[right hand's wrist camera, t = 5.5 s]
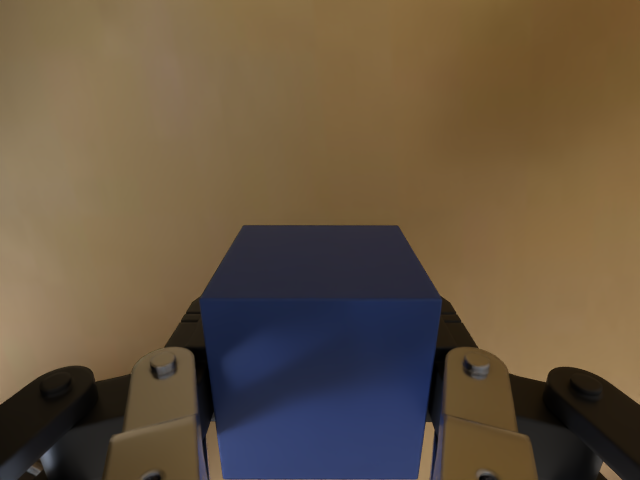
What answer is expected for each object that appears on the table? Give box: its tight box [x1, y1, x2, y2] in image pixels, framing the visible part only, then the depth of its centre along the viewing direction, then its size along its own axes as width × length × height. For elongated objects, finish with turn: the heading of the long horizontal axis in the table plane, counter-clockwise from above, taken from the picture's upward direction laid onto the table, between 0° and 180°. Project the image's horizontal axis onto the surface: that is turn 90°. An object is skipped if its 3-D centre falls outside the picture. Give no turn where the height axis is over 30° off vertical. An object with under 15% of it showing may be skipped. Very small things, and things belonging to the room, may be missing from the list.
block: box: [199, 225, 442, 479], centre depth 10 cm, size 5×5×5 cm
